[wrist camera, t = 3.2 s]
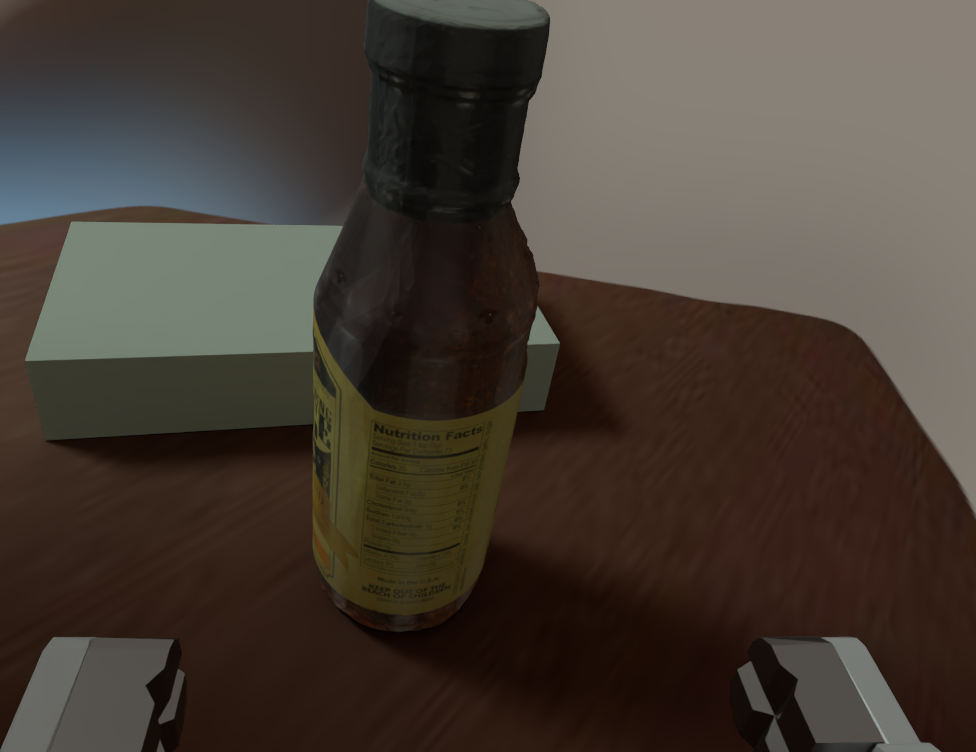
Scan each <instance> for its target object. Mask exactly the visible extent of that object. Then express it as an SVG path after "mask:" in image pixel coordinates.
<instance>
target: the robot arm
mask: <svg viewBox="0 0 976 752" xmlns="http://www.w3.org/2000/svg"><path fill="white" fill-rule="evenodd" d="M747 653H748V655H749V657H750V660H751V661H750V662H748V663H747V664H745V665H744V666H742V667H741V668H739V669H737V671H736V673H735V675H734V678H733V680H732V682H731V689H730V705H731V710H732V715H733V719H734V722H735V724H736V727H737V730H738V733H739V734H740V735H741V736H742V737H743V738H744V739H745V740H746V741H747V742H748V743H749V744H750V745H751V746H752V747H753V748H754V752H941V751H939V750H938V749H937V748H936V747H935V746H933V745H932V744H931V743H921V742H920V741H919V739H918V737H917V735H916V734H915V732H914V730H913V728H912V727H911V725H910V723H909V721H908V720H907V718H906V716H905V714H904V713H903V711H902V709H901V708H900V706H899V704H898V702H897V701H896V699H895V697H894V695H893V694H892V692H891V690H890V688H889V687H888V685H887V683H886V681H885V680H884V678H883V676H882V674H881V673H880V671H879V669H878V667H877V666H876V664H875V662H874V661H873V659H872V657H871V655H870V654H869V652H868V650H867V648H866V647H865V645H864V644H863V643H862V642H860V641H859V640H858V639H857V638H853V637H819V636H810V637H761V638H759V639H757V640H755V641H753V642H752V644H751V646H750V647H749V649H748V651H747ZM181 654H182V652H181V648H180V643H179V638H98V637H53V638H52V640H51V641H50V642H49V643H48V645H47V646H46V647H45V649H44V650H43V652H42V654H41V656H40V659H39V661H38V663H37V666H36V668H35V670H34V673H33V675H32V677H31V680H30V682H29V684H28V687H27V689H26V691H25V694H24V696H23V698H22V701H21V703H20V705H19V708H18V710H17V712H16V715H15V717H14V719H13V721H12V724H11V726H10V728H9V731H8V733H7V735H6V738H5V740H4V742H3V745H2V747H1V749H0V752H173V751H174V750H175V749H176V748H177V747H178V746H179V741H180V737H181V732H182V728H183V723H184V715H185V708H186V678H185V673H184V672H182V671H181V670H179V669H178V666H179V662H180V658H181Z"/></svg>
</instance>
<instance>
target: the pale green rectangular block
mask: <svg viewBox="0 0 976 752" xmlns="http://www.w3.org/2000/svg"><path fill="white" fill-rule="evenodd" d="M342 228H343V226H306V225H245V224H181V223H117V222H71V225H70V228H69V231H68V234H67V237H66V240H65V243H64V246H63V249H62V252H61V255H60V258H59V261H58V264H57V267H56V270H55V273H54V276H53V279H52V282H51V285H50V288H49V291H48V294H47V297H46V299H45V302H44V305H43V308H42V311H41V314H40V317H39V320H38V323H37V326H36V329H35V332H34V335H33V338H32V341H31V344H30V347H29V350H28V353H27V356H26V359H25V364H26V368H27V372H28V376H29V380H30V384H31V388H32V392H33V396H34V400H35V404H36V408H37V412H38V416H39V420H40V424H41V427H42V431H43V435H44V439H45V440H61V439H77V438H94V437H110V436H127V435H143V434H160V433H176V432H193V431H209V430H226V429H242V428H258V427H275V426H291V425H308V424H313V298H314V291H315V288H316V285H317V283H318V280H319V278H320V276H321V274H322V272H323V269H324V267H325V265H326V263H327V261H328V258H329V256H330V254H331V252H332V250H333V247H334V245H335V243H336V241H337V239H338V236H339V234H340V232H341V230H342ZM527 346H528V347H527V356H528V363H527V370H526V375H525V380H524V385H523V389H522V394H521V398H520V403H519V408H518V412H522V411H539V410H544V408H545V404H546V400H547V396H548V392H549V387H550V383H551V379H552V375H553V371H554V367H555V363H556V358H557V354H558V350H559V346H560V343H559V341H558V339H557V338H556V336H555V334H554V333H553V331H552V329H551V328H550V326H549V324H548V323H547V321H546V319H545V318H544V316H543V314H542V313H541V311H540V309H539V308H538V307H537V310H536V317H535V320H534V322H533V324H532V327H531V331H530V337H529V341H528V343H527Z"/></svg>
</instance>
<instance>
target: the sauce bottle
mask: <svg viewBox="0 0 976 752" xmlns="http://www.w3.org/2000/svg"><path fill="white" fill-rule="evenodd" d="M549 26H550V17H549V15H548V13H547V11H546V10H545V9H544V8H543V7H541V6H539V5H538V4H536V3H535V2H532V1H528V0H368V4H367V15H366V28H365V37H364V50H365V54H366V56H367V59H368V64H369V67H370V69H371V94H370V101H369V131H368V149H367V152H366V154H365V156H364V158H363V163H362V168H363V171H364V176H363V179H362V181H361V183H360V186H359V188H358V191H357V194H356V196H355V199H354V201H353V204H352V206H351V209H350V211H349V214H348V216H347V219H346V221H345V223H344V226H343V228H342V230H341V232H340V234H339V236H338V239H337V241H336V243H335V245H334V247H333V250H332V252H331V254H330V256H329V258H328V261H327V263H326V265H325V267H324V269H323V272H322V274H321V276H320V278H319V280H318V283H317V285H316V288H315V291H314V298H313V552H314V556H315V559H316V562H317V565H318V567H319V579H320V583H321V586H322V589H323V591H325V592H326V594H327V596H328V597H329V598H330V599H331V601H332V602H333V603H334V605H335V606H336V607H338V608H339V609H341V610H342V611H343V612H345V613H347V615H348V616H349V617H351V618H352V619H354V620H356V621H357V622H358V623H360V624H362V625H364V626H367V627H370V628H373V629H377V630H382V631H393V632H403V631H406V632H407V631H420V630H421V629H426V628H431V627H435V626H437V625H440V624H443V623H444V622H445V621H446V620H447V619H448V618H449V617H450V616H452V615H453V614H454V613H456V612H457V611H458V610H459V609H460V607H461V606H462V604H463V603H464V602H465V601H466V599H467V598H468V597H469V595H470V593H471V592H472V589H473V588H474V587H475V585H476V583H477V581H478V579H479V575H480V572H481V570H482V568H483V564H484V559H485V555H486V553H487V549H488V545H489V540H490V536H491V532H492V527H493V523H494V518H495V514H496V509H497V505H498V501H499V496H500V491H501V486H502V481H503V477H504V472H505V468H506V463H507V458H508V453H509V449H510V444H511V439H512V435H513V430H514V426H515V421H516V417H517V412H518V408H519V403H520V398H521V394H522V389H523V385H524V380H525V375H526V370H527V363H528V356H527V347H528V346H527V343H528V341H529V337H530V331H531V327H532V324H533V322H534V320H535V317H536V310H537V307H538V306H537V294H538V288H539V281H538V274H537V272H536V267H535V262H534V259H533V254H532V252H531V251H530V250H529V247H528V246H527V238H526V236H525V234H524V232H523V230H522V229H521V227H520V225H519V223H518V221H517V218H516V214H515V211H514V209H513V208H512V204H511V200H512V199H513V197H514V194H515V191H516V189H517V187H518V185H519V180H520V177H519V173H518V170H517V167H518V162H519V154H520V148H521V142H522V137H523V133H524V125H525V121H526V116H527V109H528V102H529V100H530V99H531V98H532V97H533V95H534V94H535V92H536V89H537V85H538V83H539V81H540V79H541V77H542V69H543V63H544V59H545V55H546V48H547V42H548V37H549Z"/></svg>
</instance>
